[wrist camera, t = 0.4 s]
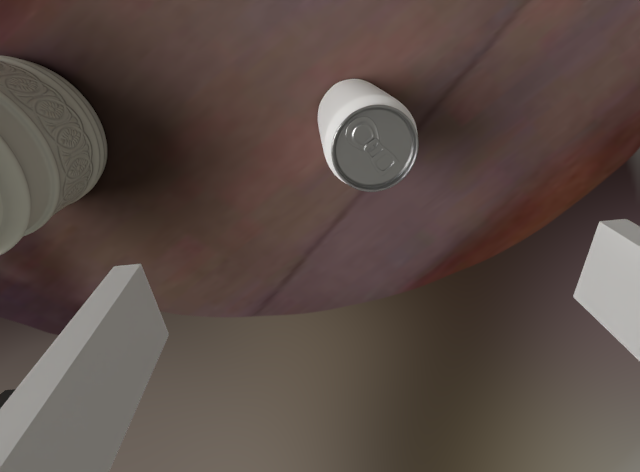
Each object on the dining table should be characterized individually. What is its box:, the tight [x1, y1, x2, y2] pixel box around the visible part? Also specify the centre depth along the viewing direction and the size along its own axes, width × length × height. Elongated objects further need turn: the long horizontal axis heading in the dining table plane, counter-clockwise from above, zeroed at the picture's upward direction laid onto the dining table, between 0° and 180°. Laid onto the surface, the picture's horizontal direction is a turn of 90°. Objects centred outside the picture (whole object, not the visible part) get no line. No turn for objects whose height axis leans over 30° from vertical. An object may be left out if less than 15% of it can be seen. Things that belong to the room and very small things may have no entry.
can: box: [318, 79, 419, 192], centre depth 28 cm, size 6×6×12 cm
